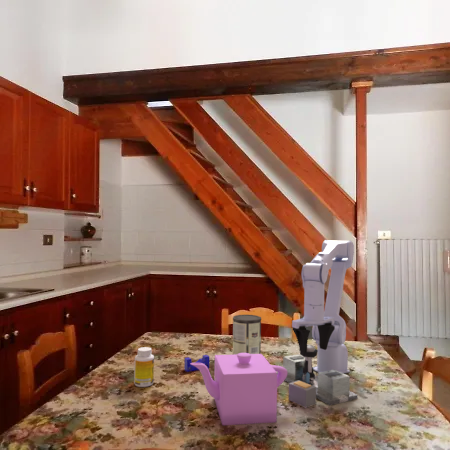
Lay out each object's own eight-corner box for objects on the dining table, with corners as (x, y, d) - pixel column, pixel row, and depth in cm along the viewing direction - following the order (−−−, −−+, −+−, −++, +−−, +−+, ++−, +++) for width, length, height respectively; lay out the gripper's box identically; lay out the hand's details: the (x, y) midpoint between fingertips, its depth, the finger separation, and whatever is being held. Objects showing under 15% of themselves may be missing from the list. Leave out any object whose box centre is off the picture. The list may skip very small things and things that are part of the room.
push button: (321, 385, 117) (322, 350, 117) (303, 385, 116) (304, 350, 116) (313, 376, 123) (314, 343, 123) (296, 377, 122) (297, 344, 123)
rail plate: (301, 371, 131) (301, 351, 131) (357, 398, 110) (357, 375, 110) (275, 375, 126) (276, 355, 126) (329, 405, 105) (329, 381, 105)
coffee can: (241, 350, 153) (241, 313, 153) (265, 355, 147) (266, 316, 148) (226, 357, 144) (227, 317, 144) (252, 362, 139) (252, 321, 139)
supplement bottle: (155, 386, 116) (155, 350, 116) (135, 388, 114) (136, 352, 114) (151, 379, 121) (152, 345, 121) (132, 381, 119) (133, 347, 119)
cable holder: (204, 365, 136) (204, 353, 136) (209, 368, 132) (209, 356, 133) (182, 369, 132) (182, 356, 132) (186, 372, 129) (187, 359, 129)
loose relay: (298, 396, 111) (298, 379, 111) (316, 404, 106) (316, 385, 106) (288, 400, 108) (288, 382, 108) (306, 408, 104) (306, 389, 104)
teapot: (187, 400, 107) (188, 347, 107) (278, 395, 111) (279, 344, 111) (191, 427, 92) (192, 365, 92) (296, 421, 96) (297, 362, 96)
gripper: (323, 300, 126) (322, 344, 125) (285, 303, 119) (285, 349, 118) (339, 304, 119) (339, 350, 119) (301, 307, 112) (300, 356, 112)
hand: (313, 350), depth 118 cm, fingers open, 7 cm apart
